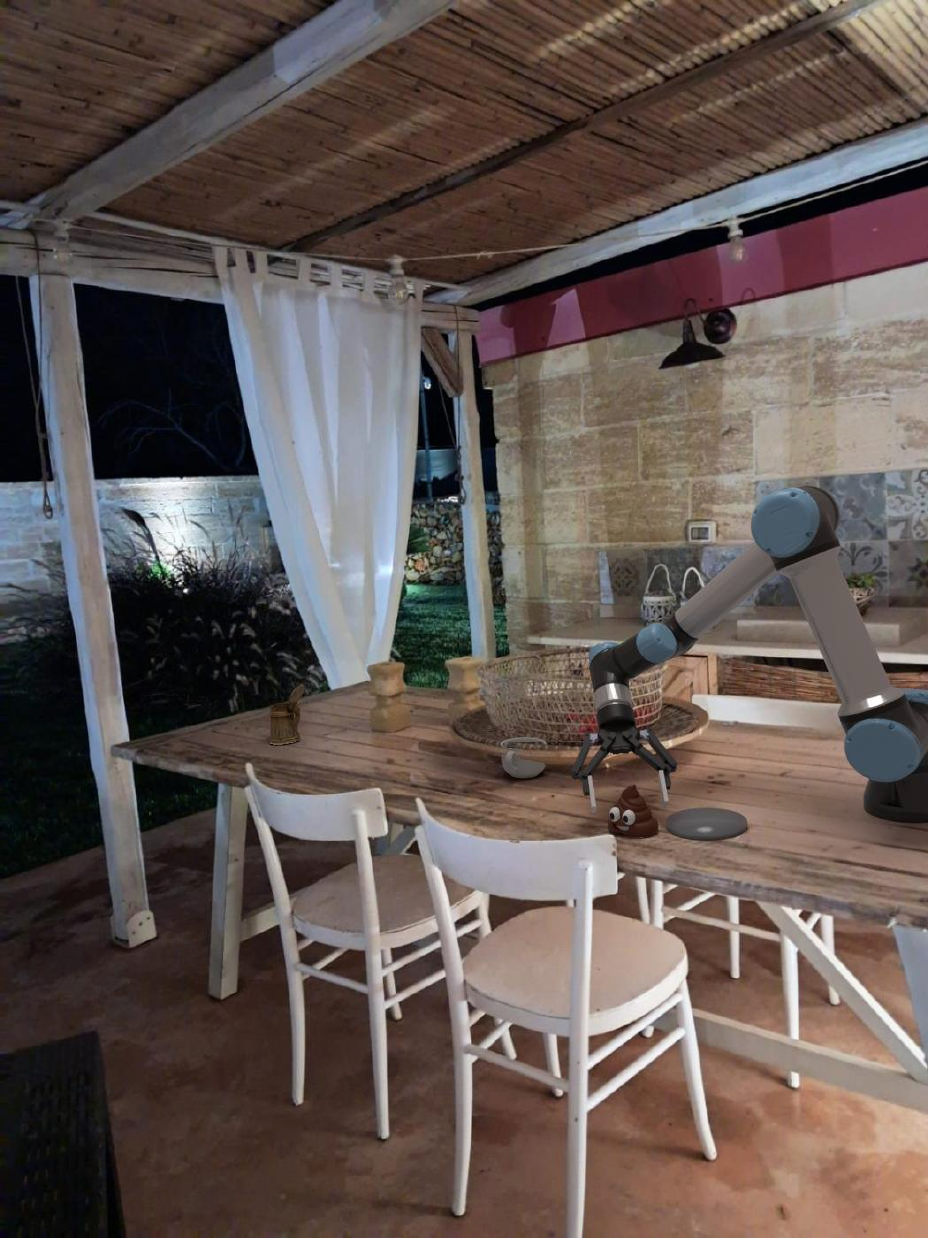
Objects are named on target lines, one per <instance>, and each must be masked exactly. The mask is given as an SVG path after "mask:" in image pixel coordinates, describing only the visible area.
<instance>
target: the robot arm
mask: <svg viewBox="0 0 928 1238" xmlns="http://www.w3.org/2000/svg"><path fill="white" fill-rule="evenodd" d="M840 519H841V513H840V507H839V505H838V502H837V501H836V499H835V498H834V497H833V495H831V493H829V492H828V491H827V490H825V489H823V488H821V487H817V486H812V485H803V486H798V487H783V488H781V489H778V490H776V491H774V492H771V493H769V494H767V495H765V497H763V498H762V499H761V500H760V502H758V504H757V505H756V506H755V509H754V511H753V514H752V516H751V520H750V530H751V535H752V538H753V542H752V543H751V544H750V545H749V546H748V547H746V549H744V550H743V551H742V552H741V553H740V554H739V555H738V556H736V558H734V559H733V560H732V561H731V562H730V563H729V564H728V565H726V566H725V567H724V568H723V569H722V570H721V571H720V572H719V573H718V574H716V575H715V576H714V577H713V578H712V579H711V580H710V581H708V582H707V583H706V584H705V585H704V586H703V587H702V588H701V589H699V590H698V591H697V592H696V593H695V594H694V595H693V596H692V597H690V598H689V599H688V600H687V601H686V602H685V603H683V604H682V605H681V606H680V607H679V608H678V609H677V610H676V611H675V612H674V613H673V614H672V615H670V616H668V618H667V619H665V620H664V621H663V622H662V623H660V622H654V623H652V624H650V625H648V626H646V627H644V628H642V629H641V630H640V631H638V632H637V633H635V634H634V635H632V636H630V637H629V638H628V639H626V640H624V641H623V642H621V643H620V644H619V643H618V642H615V641H604V642H603V643H600V642H599V643H597V644H595V645H594V646H592V648H590V650H589V653H588V670H589V675H590V679H591V684H592V690H593V694H592V695H593V699H594V700H593V701H594V706H595V707H594V708H595V713H596V723H597V728H598V733H591V732H590V731H588V730H587V731H585V732H584V733H583V743H582V746H581V747H580V750H579V753H578V755H577V756H576V760H575V762H574V764H573V766H572V769H571V779H573V780H579V781H580V782H581V786H582V787H581V788H582V794H583V795H584V797H588V796H589V803H590V811H591V814H596V813H597V811H596V810H597V803H596V797H595V791H594V790H595V789H594V783H593V782H594V781H593V776H592V775H593V774H594V773H595V771H596V770H597V768H598V767H599V766H600V764H601V763H602V762H603V761H604V759H605V758H607V756H608V755H609V753H610V754H612V755H613V756H615V755H620V754H623V755H624V754H625V755H628V754H629V753H632V754H633V755H635V756H636V757H637V756H638V757H639V758H640V759H641V760H643V761H644V762H645V763H646V764H648V765H649V766H650V767H652V768H653V769H654V770H655V771H657V772H658V774H657V780H658V784H659V789H660V790H659V791H660V796H661V802H662V806H663V807H662V808H665V809H666V808H669V796H668V791H669V790H671V787H672V786H671V785H672V781H671V776H670V773H675V772H676V771H677V766H678V763H677V760H676V759H674V757H673V755H671V753H670V752H669V751H668V750H667V749H666V747H665V746H664V745H663V743H662V742H661V741H660V739H658V737H657V736H656V733H655V730H654V728H653V727H652V726H648V727H646V729H642V730H639V728H638V726H637V723H636V718H635V716H636V715H635V712H634V709H633V708H634V704H633V700H632V696H631V690H630V689H631V688H630V681H631V680H633V679H635V678H637V677H638V676H640V675H641V674H644V673H646V672H647V671H649V670H651V669H652V668H654V667H656V666H658V665H661V664H663V663H665V662H667V661H669V660H671V659H673V658H676V657H680V656H683V655H684V654H686V653H688V651H690V650H691V649H693V647H694V646H695V644H696V642H697V641H698V640H700V639H701V638H702V637H703V636H704V635H705V634H707V633H708V632H709V631H711V630H712V628H714V627H715V626H716V625H717V624H718V623H720V622H721V621H722V620H723V619H724V618H725V617H727V616H728V615H729V614H730V613H731V612H733V610H735V609H736V608H737V607H739V605H741V604H743V602H744V601H746V600H747V599H748V598H750V596H751V595H753V594H755V592H756V591H757V590H759V589H760V588H761V587H762V586H764V585H765V584H766V583H767V582H768V581H769V580H771V578H773V577H774V576H775V575H776V574H780V575H782V576H784V577H787V578H788V579H789V581H790V583H791V586H792V589H793V591H794V592H795V595H796V599H797V600H798V602H799V605H800V607H801V609H802V612H803V614H804V616H805V619H806V621H807V623H808V626H809V629H810V630H811V632H812V633H811V634H812V635H813V637H814V640H815V642H816V645H817V647H818V649H819V652H820V655H821V656H822V658H823V661H824V663H825V665H826V669H827V670H828V673H829V675H830V677H831V679H832V682H833V685H834V687H835V689H836V691H837V694H838V696H839V698H840V701H841V703H840V705H839V708H838V710H837V713H836V715H837V718H838V719H839V722H840V724H841V726H842V729H843V732H844V733H845V738H844V743H843V750H844V755H845V757H846V760H847V761H848V763H849V765H850V766H851V767H852V770H854V771H855V772H857V773H858V774H860V775H861V776H862V777H864V778H867V780H868V781H867V784H866V787H865V789H864V792H863V808H864V810H865V811H866V812H868V813H869V814H871V815H872V816H875V817H878V818H882V819H885V820H890V821H897V822H909V823H921V822H923V823H924V822H925V823H926V822H928V689H919V688H903V687H902V688H899V687H898V688H897V687H895V686H893V685H892V684H891V683H890V682H891V681H890V680H889V677H888V675H887V672H886V670H885V668H884V666H883V664H882V661H881V659H880V657H879V655H878V652H877V650H876V648H875V645H874V642H873V641H872V639H871V638H872V637H871V635H870V633H869V632H868V629H867V627H866V624H865V622H864V619H863V618H862V614H861V612H860V609H859V608H858V605H857V604H856V601H855V599H854V597H853V594H852V592H851V590H850V587H849V585H848V583H847V581H846V577H845V576H844V573H843V571H842V569H841V566H840V564H839V562H838V556H839V554H840V551H841V550H842V546H841V543H840V540H839V538H838V536H837V534H836V531H837V530H838V528H839V527H838V526H839V525H840ZM641 738H642V739H644V741H645V742H647V743H648V744H649V746H650V747H651V749H652V750H653V751H654V752H655V753H656V755H657V756H658V757H657V756H656V755H655V754H654V753H652V751H650V750H649V749H648V748H646V747H645V746H644V744H643V743H642V742H641V741H639V740H640V739H641ZM595 742H597V743H598V744H600V747H599V748H598V750H597V752H596V753H595V754H594V755H593V756H592V758H591V759H590V760H589V762H588V763H587V764H586V766H585V767H583V766H584V763H585V762H586V760H587V757H588V755H589V752H590V748H591V747H592V746H593V745H594V744H595ZM582 768H583V770H582Z"/></svg>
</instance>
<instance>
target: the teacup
mask: <svg viewBox="0 0 928 1238" xmlns="http://www.w3.org/2000/svg"><path fill="white" fill-rule="evenodd" d="M505 742H542V743H544V744H545V745H546V746H547V741H546V740H544V739H541V738H536V737H526V736H525V737H524V736H523V737H513V738H512V737H511V738H508V739H505V740H502V741H501V742H500V743H499V744H500V748H501V747H502V748H503V749H506V750H511V751H509V752H507V754H506V755H505V754H504V755H501V763H502V768H503V769H504V771H505V773H508V775H510V776H511V777H513V778H517V779H530V778H535V777H537V776H538V775H539V774H540V773H542V772H543V771H544V770H545V768H546V765H545V764H544V763H541V762H535V761H531V760H523V759H520V758H519V757H517V755H516V752H514V751H520V750H522V749H512V748H507V747H504V746H503V743H505Z"/></svg>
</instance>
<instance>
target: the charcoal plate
mask: <svg viewBox="0 0 928 1238" xmlns="http://www.w3.org/2000/svg"><path fill="white" fill-rule="evenodd" d="M665 829H666V830H667V832H669V833H670V834H671V833H672V834H671V835H673V834H674V835H673V836H675V835H677V836H676V837H678V836H679V838H681V839H687V840H692V841H704V840H706V841H707V840H708V841H709V840H710V841H722V840H727V838H728V839H732V838H734V837H737V835H738V836H740V835H742V834H744V833H745V832H746V830H747V829H748V820H747V818H746V817H745V816H744V815H743V814H742V813H739V812H737V811H734V810H730V809H726V808H719V807H692V808H687V809H682V810H678V811H675V812H673V813H671V814H669V815H668V816H667V817H666V818H665ZM731 837H732V838H731ZM721 839H722V840H721ZM708 841H707V842H708Z"/></svg>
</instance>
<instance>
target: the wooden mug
mask: <svg viewBox="0 0 928 1238" xmlns="http://www.w3.org/2000/svg"><path fill="white" fill-rule="evenodd" d="M305 689H306V686H305V685H304V683H303V682H301V683H299V684H298V685H297V686H296V687H295V688H294V689H292V691H291V692H290V693H289V696H288V701H289V702H282V703H281V702H280V703H275V704H272V705H270V711H269V716H270V721H269V722H270V723H269V724H270V725H269V727H270V728H269V729H270V730H269V731H270V732H269V735H270V736H269V741H268V742H272V743H286V742H294V741H298V740H299V739H300V738H301V734H300V732H299V730H298V725H299V722H300V720H301V719H300V718H301V708H300V705H299V704H298V701H299V700H300V699H301V697H302V696H303V694H304V693H305ZM300 740H301V739H300ZM298 742H299V741H298Z"/></svg>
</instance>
